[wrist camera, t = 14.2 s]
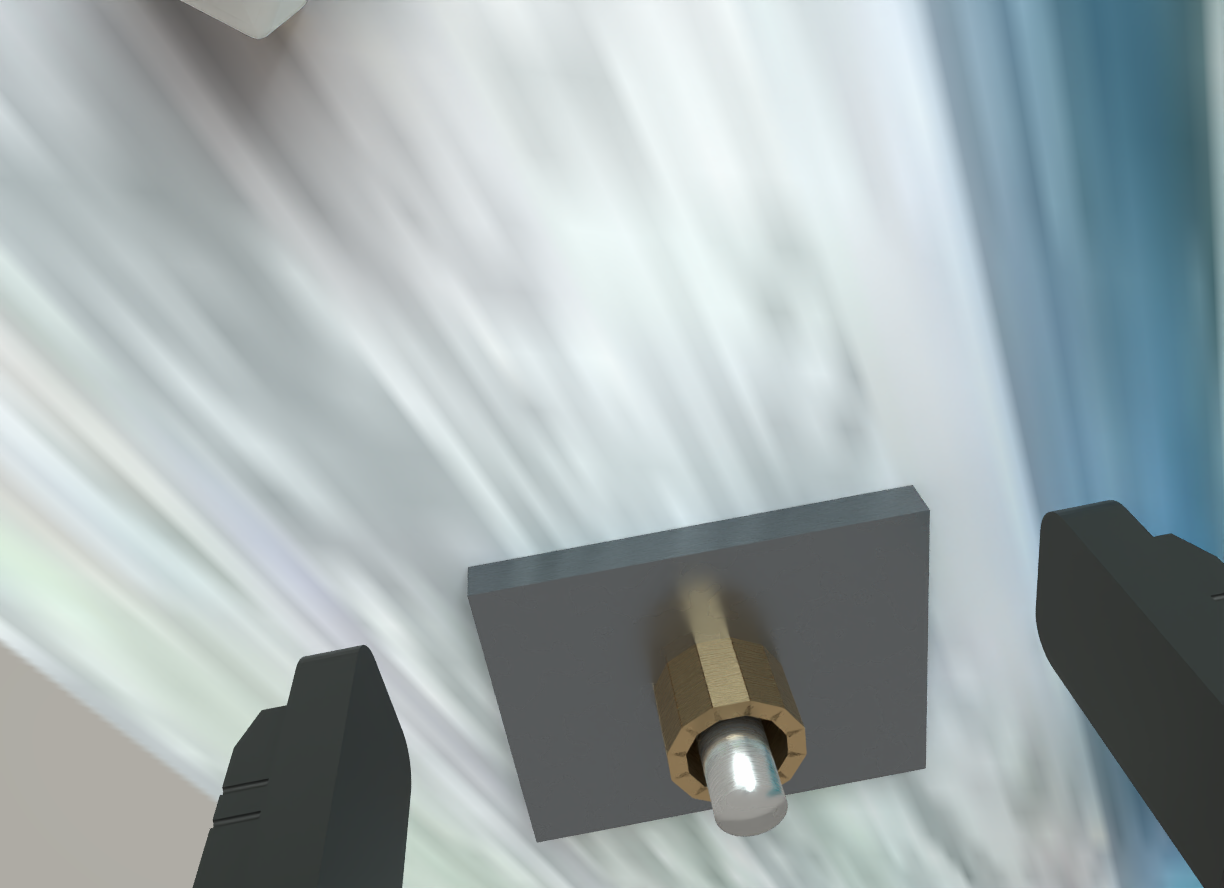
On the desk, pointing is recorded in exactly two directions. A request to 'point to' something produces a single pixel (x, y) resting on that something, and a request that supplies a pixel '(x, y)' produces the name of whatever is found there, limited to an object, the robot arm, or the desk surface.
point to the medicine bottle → (250, 13)
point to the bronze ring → (725, 706)
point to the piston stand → (700, 612)
